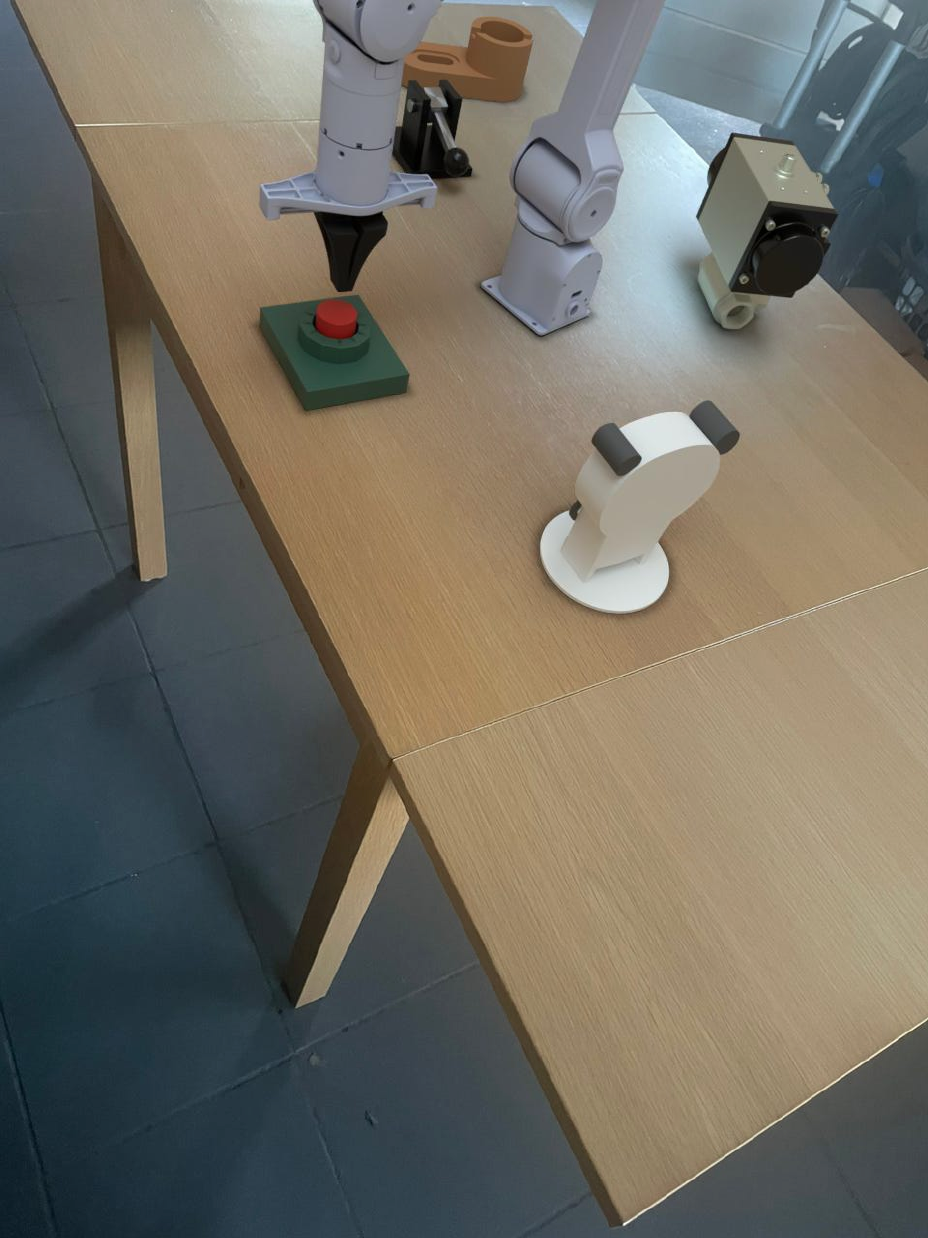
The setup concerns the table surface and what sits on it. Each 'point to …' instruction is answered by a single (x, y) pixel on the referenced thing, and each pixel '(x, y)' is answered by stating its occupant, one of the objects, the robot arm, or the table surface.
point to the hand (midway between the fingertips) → (341, 284)
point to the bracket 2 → (425, 132)
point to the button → (336, 319)
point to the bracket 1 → (476, 61)
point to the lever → (446, 134)
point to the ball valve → (760, 226)
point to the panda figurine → (633, 506)
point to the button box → (332, 355)
